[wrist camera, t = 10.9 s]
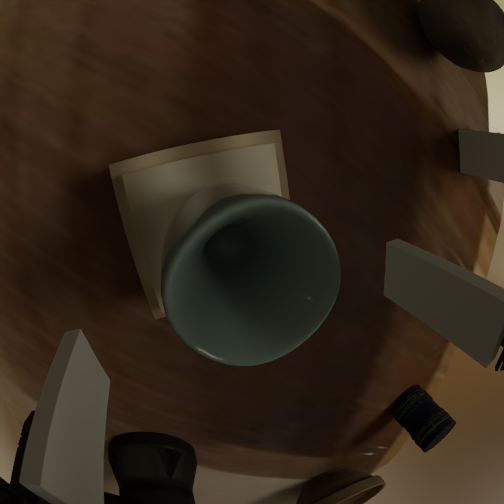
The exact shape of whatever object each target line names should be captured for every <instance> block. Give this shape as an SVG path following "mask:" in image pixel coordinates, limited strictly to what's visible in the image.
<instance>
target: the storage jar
mask: <svg viewBox="0 0 504 504" xmlns="http://www.w3.org/2000/svg"><path fill="white" fill-rule="evenodd" d="M390 413H391V414H392V415H393V416H394V418H395V420H396V421H397V422H398V423H399V424H400V425H401V426H402V427H404V428H405V429H406V430H407V431H408V433H409V434H410V435H411V437H412V439H413V440H414V441H415V443H416V444H417V445H418V446H419V447H420V448H422V451H423V452H427V451H429V450H430V449H431V448H433V447H434V446H435V445H437V444H438V443H439V442H440V441H441V440H442V439H443V438H444V437H445V436H446V435H447V434H448V433H449V432H450V431H451V429H452V428H453V427H454V425H455V424H456V421H455V420H453V419H452V417H451V416H450V415H449V414H448V413H447V412H446V411H445V410H444V409H443V408H440V407H439V406H438V405H437V404H436V403H435V402H434V401H433V400H432V397H431V396H430V395H429V394H428V393H427V392H426V391H425V390H424V389H422V388H421V387H420V386H419V385H418V384H416V385H413V386H411V387H410V388H408V389H407V390H406V391H404V392H403V393H402V394H401V395H400V396H399V397H398V398H397V399H396V400H395V402H394V403H393V404H392V406H391V408H390Z"/></svg>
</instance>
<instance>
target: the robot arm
mask: <svg viewBox="0 0 504 504" xmlns="http://www.w3.org/2000/svg"><path fill="white" fill-rule="evenodd" d="M384 296H386V297H387V298H389V299H390V300H392V301H393V302H395V303H396V304H398V305H399V306H401V307H402V308H403V309H405V310H406V311H408V312H409V313H411V314H412V315H414V316H415V317H416V318H418V319H419V320H421V321H422V322H424V323H425V324H426V325H428V326H429V327H431V328H432V329H433V330H435V331H436V332H438V333H439V334H440V335H442V336H443V337H445V338H446V339H447V340H449V341H450V342H451V343H453V344H454V345H456V346H457V347H458V348H460V349H461V350H462V351H464V352H465V353H467V354H468V355H469V356H470V357H472V358H473V359H474V360H476V361H477V362H478V363H480V364H481V365H482V366H484V367H485V368H486V367H487V366H488V365H489V364H490V363H491V362H492V361H493V360H494V358H495V357H496V354H497V352H498V350H499V347H500V345H501V346H502V347H504V289H503V288H502V287H500V286H498V285H496V284H494V283H492V282H490V281H488V280H486V279H484V278H482V277H480V276H478V275H476V274H474V273H472V272H470V271H468V270H466V269H464V268H462V267H460V266H458V265H456V264H454V263H451V262H449V261H447V260H445V259H443V258H441V257H438V256H436V255H434V254H432V253H430V252H427V251H425V250H423V249H421V248H418V247H416V246H414V245H411V244H409V243H407V242H404V241H402V240H400V239H395V240H392V241H389V242H386V266H385V284H384ZM502 362H503V364H502V366H501V371H502V370H504V348H503V351H502V353H501V355H500V357H499V359H498V362H497V364H496V366H495V371H498V369H499V367H500V365H501V363H502ZM109 387H110V379H109V378H108V376H107V374H106V373H105V371H104V369H103V368H102V366H101V364H100V363H99V361H98V359H97V358H96V356H95V354H94V352H93V351H92V349H91V347H90V345H89V343H88V341H87V340H86V338H85V336H84V334H83V332H82V330H81V329H77V330H73V331H68V332H65V334H64V336H63V338H62V341H61V343H60V345H59V348H58V350H57V352H56V355H55V357H54V360H53V362H52V365H51V367H50V370H49V373H48V375H47V378H46V381H45V384H44V386H43V389H42V392H41V395H40V398H39V401H38V404H37V408H36V411H32V412H31V413H30V415H29V416H28V418H27V419H26V421H25V422H24V425H23V429H22V433H21V435H22V437H20V440H19V444H18V445H19V447H18V448H17V452H16V457H15V461H14V466H13V471H12V476H11V482H10V484H9V483H7V482H6V481H5V480H4V479H2V478H1V477H0V504H195V500H194V495H193V484H194V478H195V473H196V467H197V459H196V454H195V450H194V449H193V447H192V446H191V445H190V444H188V443H187V442H185V441H183V440H181V439H179V438H176V437H173V436H169V435H164V434H158V433H130V434H125V435H121V436H118V437H116V438H115V439H113V440H112V441H111V442H110V444H109V447H108V459H109V462H110V465H111V468H112V470H113V473H114V476H115V478H116V481H117V483H118V486H119V495H120V496H118V495H114V494H111V493H107V492H104V442H105V426H106V414H107V404H108V395H109Z"/></svg>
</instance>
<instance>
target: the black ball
mask: <svg viewBox="0 0 504 504" xmlns="http://www.w3.org/2000/svg"><path fill="white" fill-rule="evenodd" d="M418 19H419V23H420V26H421V29H422V31H423V33H424V35H425V36H426V38H427V39H428V40H429V42H430V43H431V44H432V45H434V46H435V48H436V49H437V50H438V51H439V52H440V53H441V54H442V55H443V56H445V57H446V58H447V59H448V60H450V61H451V62H452V63H454V64H456V65H457V66H460V67H462V68H465V69H469V70H472V71H476V72H492V71H495V70H497V69H499V68H501V67H502V66H503V65H504V12H503V11H502V9H501V8H500V7H499V5H497V3H496V2H495V1H493V0H421V1H420V3H419V6H418Z"/></svg>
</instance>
